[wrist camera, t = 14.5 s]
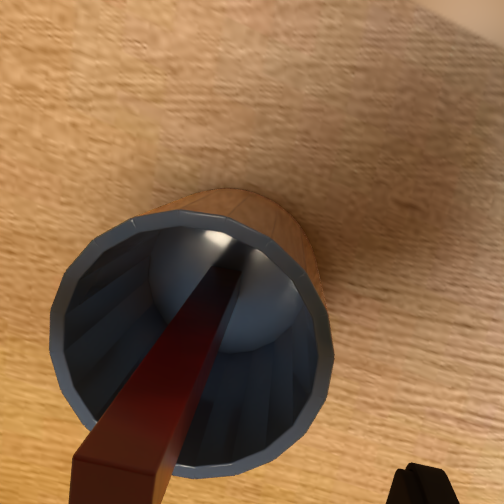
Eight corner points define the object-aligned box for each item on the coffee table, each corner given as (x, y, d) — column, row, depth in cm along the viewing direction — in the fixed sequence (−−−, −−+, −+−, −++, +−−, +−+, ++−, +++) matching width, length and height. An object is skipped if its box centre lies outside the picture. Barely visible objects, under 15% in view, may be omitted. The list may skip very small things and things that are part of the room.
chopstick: (242, 271, 21) (155, 474, 8) (237, 301, 22) (146, 545, 8) (211, 265, 21) (70, 455, 8) (206, 294, 22) (64, 527, 8)
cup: (301, 173, 21) (309, 186, 12) (328, 344, 22) (351, 465, 14) (125, 204, 22) (13, 237, 13) (164, 365, 24) (89, 489, 15)
